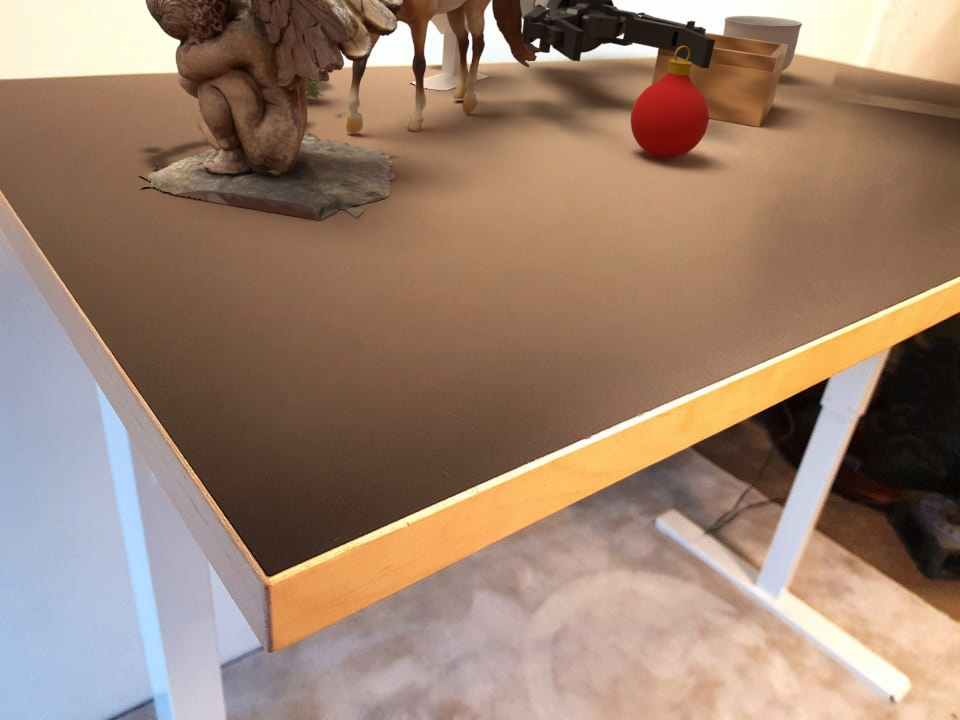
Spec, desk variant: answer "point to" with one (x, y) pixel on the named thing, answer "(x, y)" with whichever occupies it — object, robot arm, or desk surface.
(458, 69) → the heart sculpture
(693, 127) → the christmas ornament
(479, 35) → the horse figurine
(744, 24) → the teacup
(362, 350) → the desk surface
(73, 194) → the desk surface
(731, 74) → the wooden box
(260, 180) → the cherub figurine
